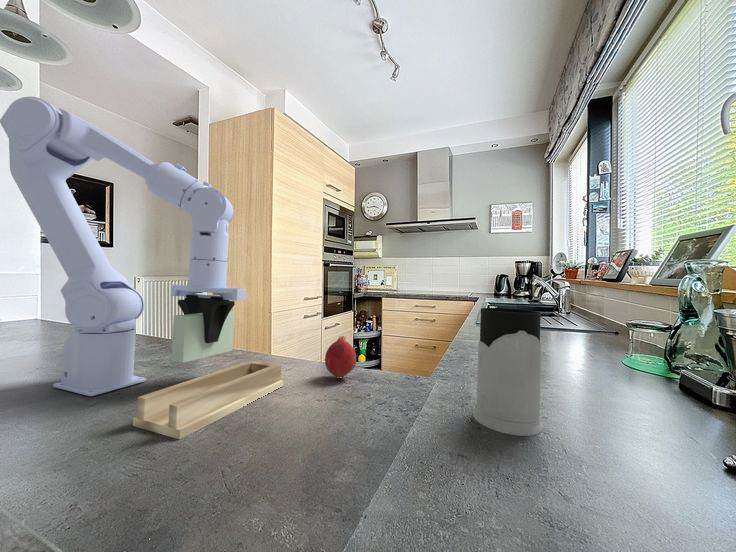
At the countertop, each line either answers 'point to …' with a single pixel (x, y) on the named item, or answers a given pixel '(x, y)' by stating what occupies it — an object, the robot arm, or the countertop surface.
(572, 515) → the countertop surface
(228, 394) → the floor track
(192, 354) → the door panel
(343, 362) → the onion
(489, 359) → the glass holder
